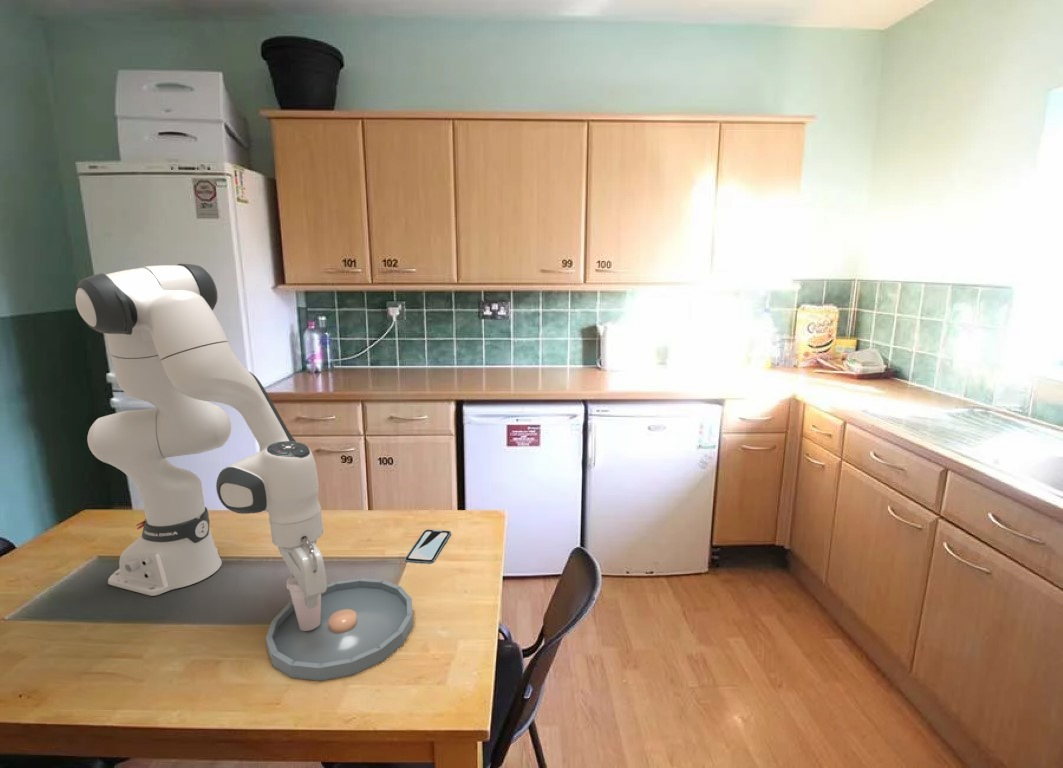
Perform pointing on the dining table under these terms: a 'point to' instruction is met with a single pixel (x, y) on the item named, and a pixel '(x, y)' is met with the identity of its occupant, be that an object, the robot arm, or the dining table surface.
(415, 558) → the smartphone
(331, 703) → the dining table surface
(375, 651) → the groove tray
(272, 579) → the dining table surface
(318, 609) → the smoothie
